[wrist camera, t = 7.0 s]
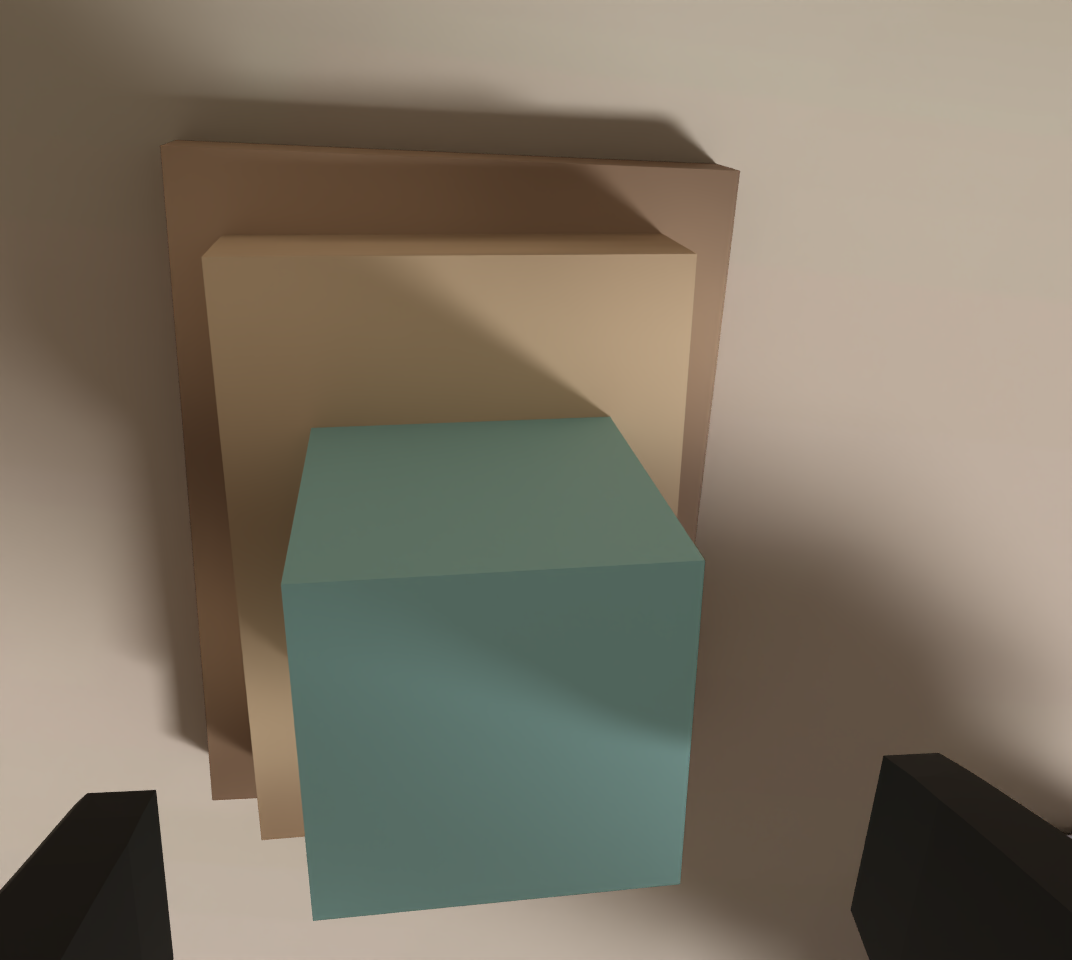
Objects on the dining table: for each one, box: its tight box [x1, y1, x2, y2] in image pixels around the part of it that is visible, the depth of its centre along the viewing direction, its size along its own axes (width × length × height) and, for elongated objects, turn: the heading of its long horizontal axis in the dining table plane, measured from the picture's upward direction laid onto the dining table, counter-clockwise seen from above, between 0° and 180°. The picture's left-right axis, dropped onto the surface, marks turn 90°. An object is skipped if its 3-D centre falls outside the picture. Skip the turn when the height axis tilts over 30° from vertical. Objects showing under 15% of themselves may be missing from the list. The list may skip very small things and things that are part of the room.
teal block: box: [281, 417, 705, 921], centre depth 14 cm, size 4×4×5 cm
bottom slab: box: [160, 140, 740, 800], centre depth 19 cm, size 12×9×2 cm
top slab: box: [201, 234, 697, 840], centre depth 17 cm, size 10×7×2 cm
